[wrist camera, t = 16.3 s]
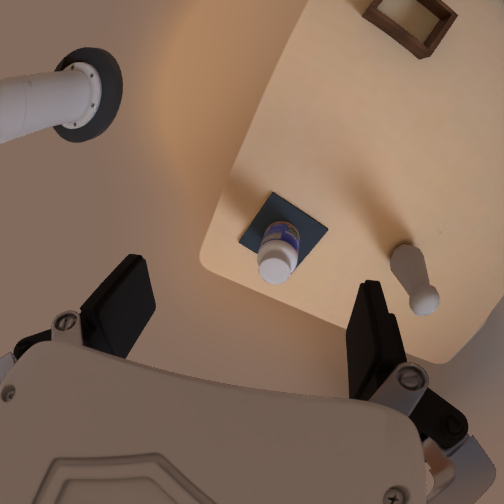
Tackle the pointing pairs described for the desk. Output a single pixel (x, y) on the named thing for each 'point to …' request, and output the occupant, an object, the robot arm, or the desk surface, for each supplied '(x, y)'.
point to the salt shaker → (414, 279)
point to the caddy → (404, 37)
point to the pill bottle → (278, 252)
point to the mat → (286, 212)
